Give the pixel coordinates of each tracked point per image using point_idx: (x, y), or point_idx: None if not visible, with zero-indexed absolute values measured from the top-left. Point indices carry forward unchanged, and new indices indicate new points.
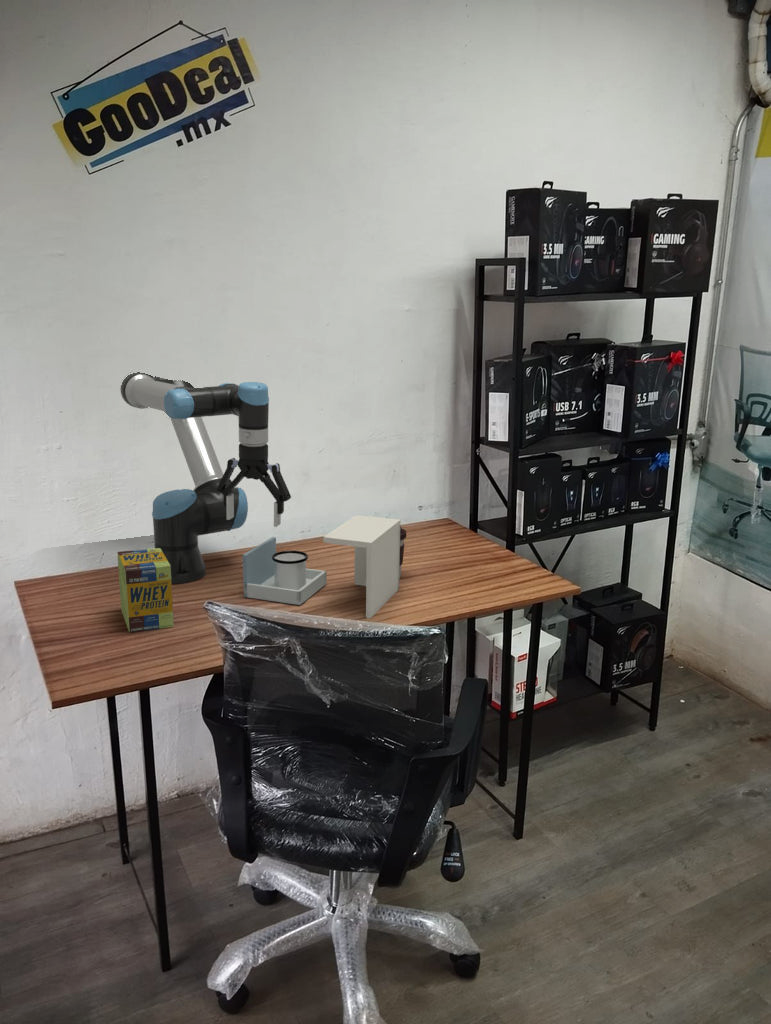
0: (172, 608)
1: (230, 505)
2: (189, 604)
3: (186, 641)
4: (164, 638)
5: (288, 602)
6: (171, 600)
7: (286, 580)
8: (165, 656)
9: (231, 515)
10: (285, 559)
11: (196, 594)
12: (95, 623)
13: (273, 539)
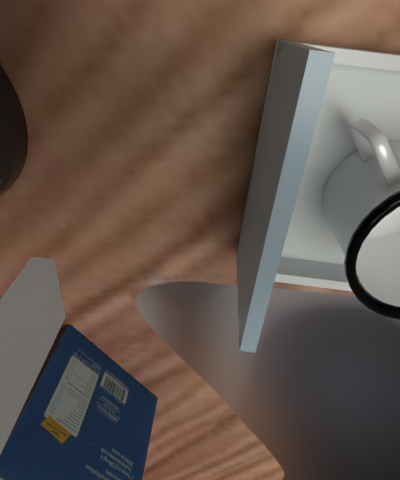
0: (150, 434)
1: (13, 396)
2: (122, 310)
3: (210, 434)
4: (169, 430)
5: None
6: (146, 453)
7: (387, 266)
8: (204, 467)
9: (50, 305)
10: (390, 189)
11: (99, 254)
12: None
13: (324, 92)
